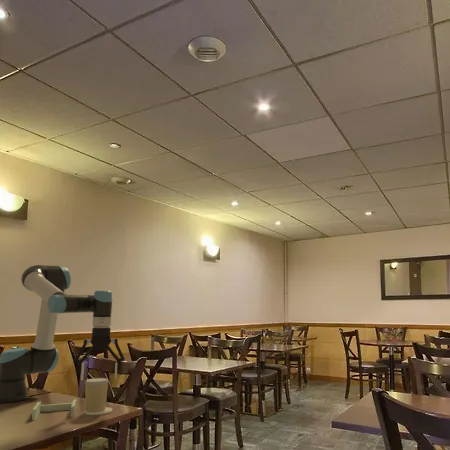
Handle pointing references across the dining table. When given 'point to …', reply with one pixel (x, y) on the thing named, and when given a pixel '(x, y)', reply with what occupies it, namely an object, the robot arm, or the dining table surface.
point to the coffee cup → (96, 394)
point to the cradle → (53, 408)
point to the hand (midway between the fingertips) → (98, 379)
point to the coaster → (106, 411)
